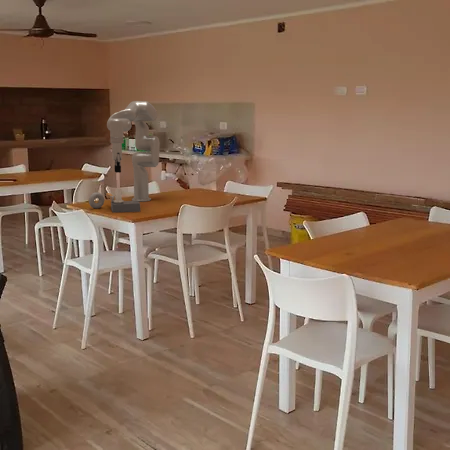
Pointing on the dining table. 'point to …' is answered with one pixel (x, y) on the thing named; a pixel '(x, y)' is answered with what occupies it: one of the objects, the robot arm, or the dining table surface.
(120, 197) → the plug
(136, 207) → the socket block
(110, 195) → the clip
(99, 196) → the donut
